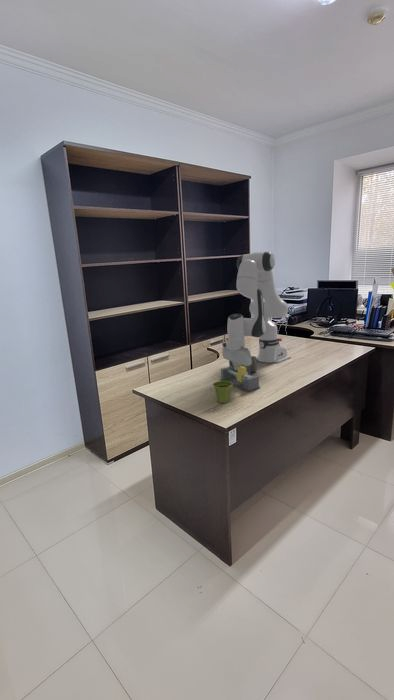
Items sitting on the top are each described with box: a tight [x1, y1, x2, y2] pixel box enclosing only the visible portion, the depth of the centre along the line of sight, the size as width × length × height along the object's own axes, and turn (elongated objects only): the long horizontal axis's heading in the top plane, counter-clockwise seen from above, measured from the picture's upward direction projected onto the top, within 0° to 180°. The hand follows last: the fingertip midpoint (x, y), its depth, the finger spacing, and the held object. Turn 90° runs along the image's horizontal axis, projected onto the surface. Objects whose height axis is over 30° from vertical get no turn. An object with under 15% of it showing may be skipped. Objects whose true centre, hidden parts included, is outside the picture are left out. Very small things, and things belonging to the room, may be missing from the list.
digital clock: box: [228, 355, 258, 375], centre depth 203 cm, size 16×9×11 cm, turn 64°
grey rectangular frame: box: [219, 366, 261, 393], centre depth 186 cm, size 23×9×6 cm, turn 33°
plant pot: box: [212, 380, 233, 404], centre depth 166 cm, size 9×9×9 cm
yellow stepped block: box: [236, 366, 248, 382], centre depth 183 cm, size 4×4×7 cm
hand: (237, 369), depth 187 cm, fingers closed
